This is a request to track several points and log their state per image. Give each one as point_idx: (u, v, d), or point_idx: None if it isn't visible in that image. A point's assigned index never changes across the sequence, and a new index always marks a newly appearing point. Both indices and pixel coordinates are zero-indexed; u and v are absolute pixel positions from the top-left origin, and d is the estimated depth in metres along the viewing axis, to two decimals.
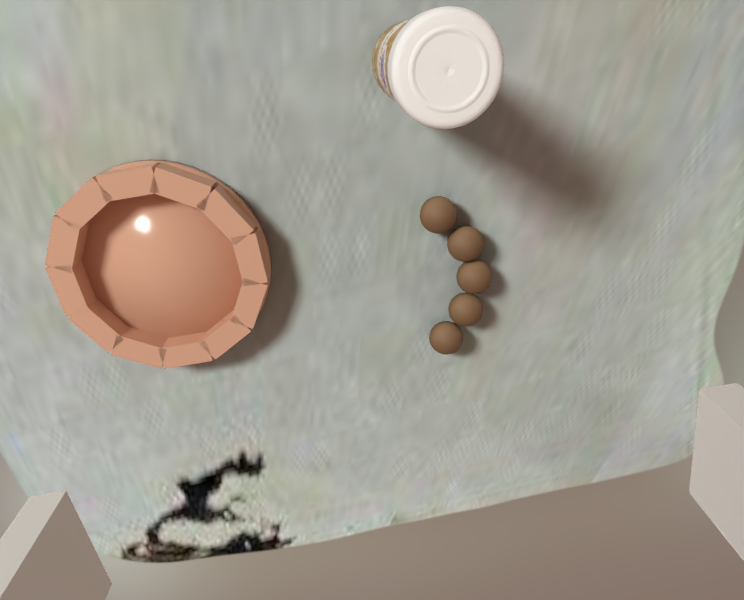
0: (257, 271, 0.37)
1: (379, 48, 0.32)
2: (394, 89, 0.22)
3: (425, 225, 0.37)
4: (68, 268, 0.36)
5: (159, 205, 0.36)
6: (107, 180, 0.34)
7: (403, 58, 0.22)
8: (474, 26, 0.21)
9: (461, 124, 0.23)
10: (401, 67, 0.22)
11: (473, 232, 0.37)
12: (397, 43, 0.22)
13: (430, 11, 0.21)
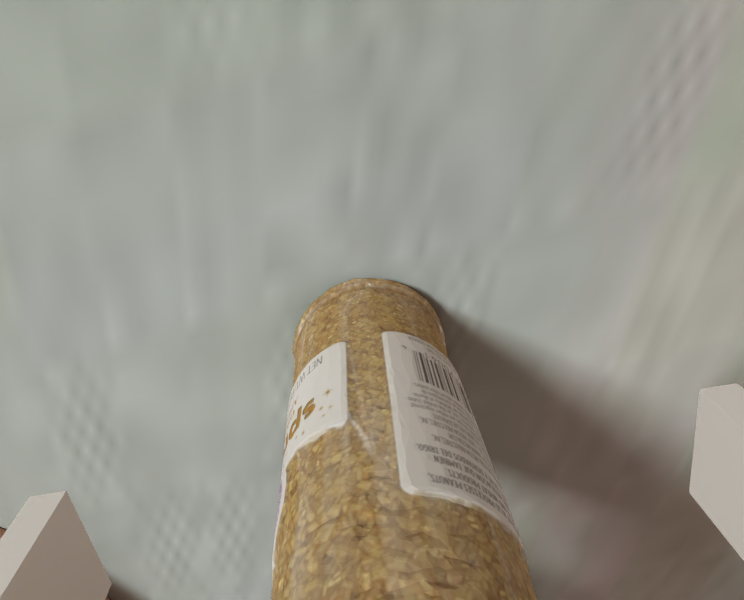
0: None
1: (297, 366, 0.14)
2: None
3: None
4: None
5: None
6: None
7: None
8: None
9: None
10: None
11: None
12: None
13: None
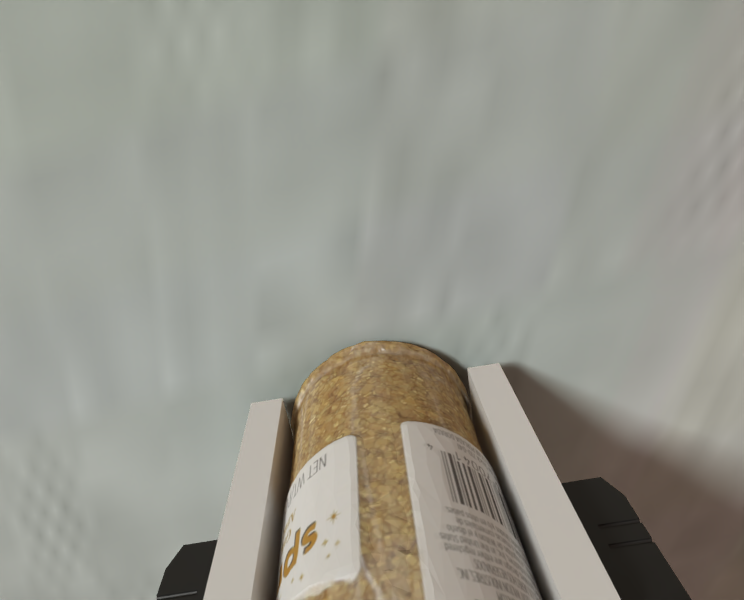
0: None
1: (296, 455, 0.12)
2: None
3: None
4: None
5: None
6: None
7: None
8: None
9: None
10: None
11: None
12: None
13: None
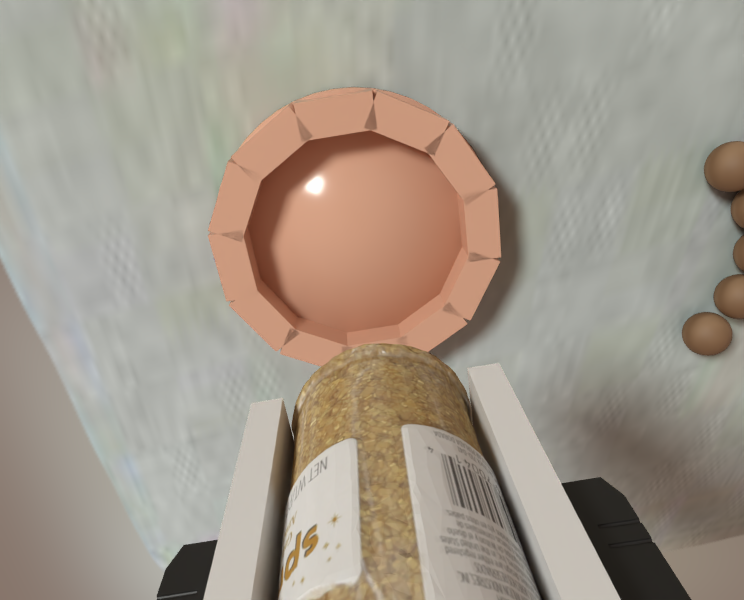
0: (490, 242, 0.27)
1: (296, 458, 0.12)
2: None
3: (719, 180, 0.27)
4: (238, 235, 0.26)
5: (362, 150, 0.26)
6: (308, 110, 0.24)
7: None
8: None
9: None
10: None
11: None
12: None
13: None
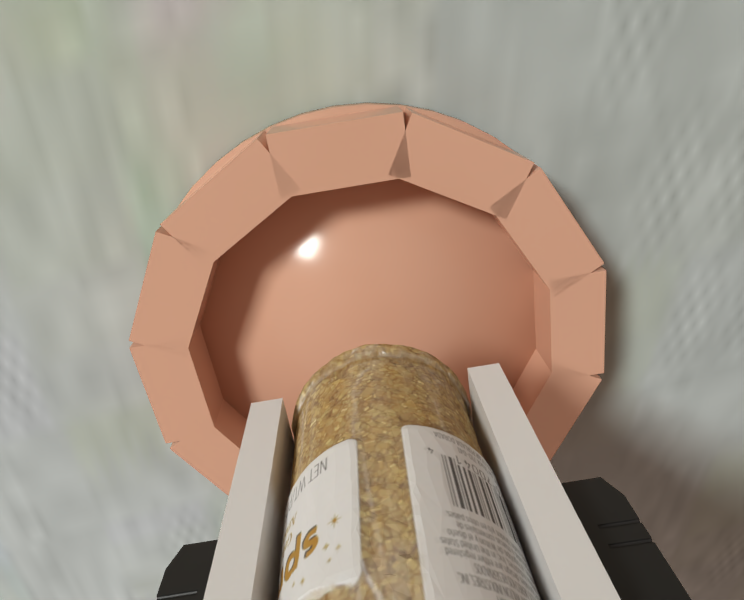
0: (588, 351, 0.17)
1: (296, 458, 0.12)
2: None
3: None
4: (180, 347, 0.16)
5: (382, 206, 0.16)
6: (292, 145, 0.14)
7: None
8: None
9: None
10: None
11: None
12: None
13: None
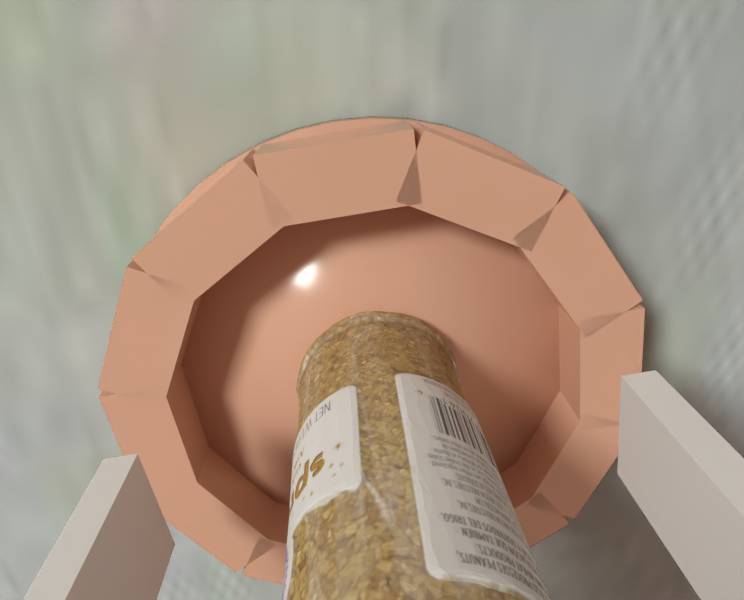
0: None
1: (302, 409, 0.13)
2: None
3: None
4: (157, 396, 0.14)
5: (388, 234, 0.14)
6: (284, 168, 0.12)
7: None
8: None
9: None
10: None
11: None
12: None
13: None
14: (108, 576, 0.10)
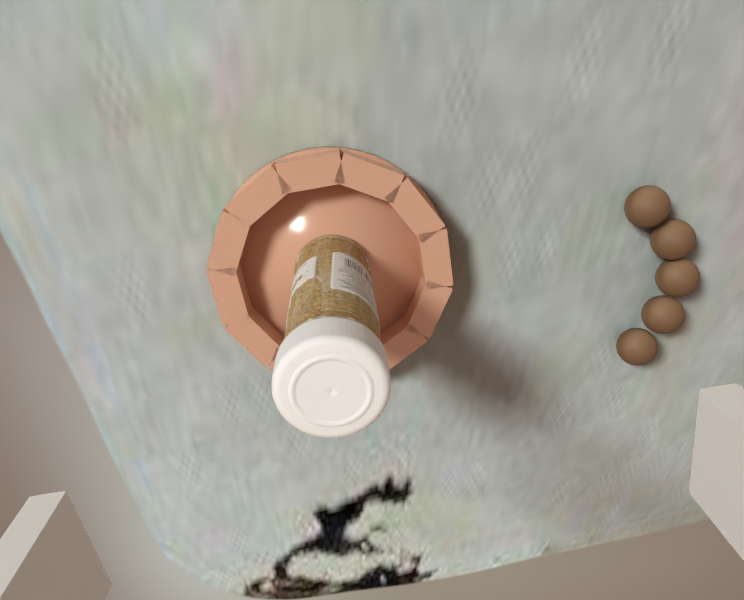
0: (443, 272, 0.32)
1: (296, 272, 0.31)
2: None
3: (634, 218, 0.32)
4: (231, 271, 0.31)
5: (334, 198, 0.32)
6: (288, 169, 0.29)
7: (282, 383, 0.21)
8: (354, 354, 0.20)
9: (350, 434, 0.22)
10: (281, 391, 0.21)
11: (687, 226, 0.32)
12: (276, 367, 0.21)
13: (307, 340, 0.20)
14: None
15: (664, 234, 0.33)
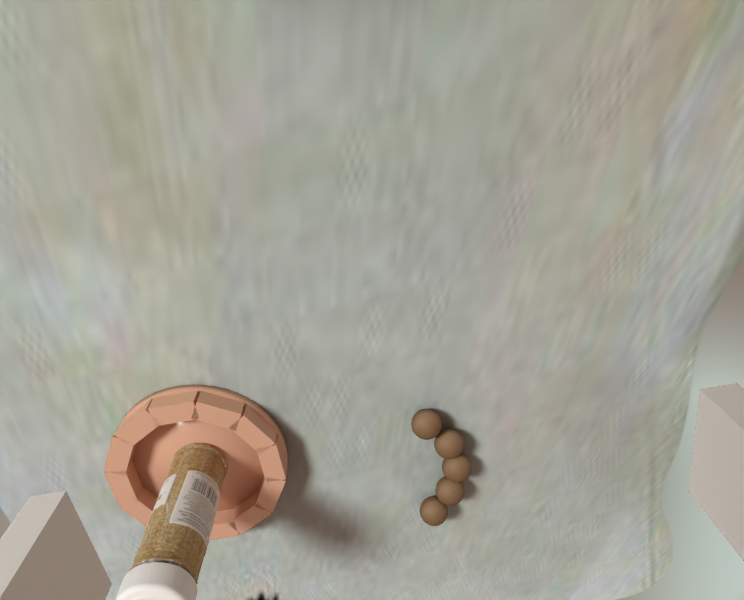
0: (277, 471, 0.45)
1: None
2: None
3: None
4: (122, 472, 0.44)
5: (197, 420, 0.44)
6: (157, 411, 0.42)
7: None
8: (163, 595, 0.33)
9: None
10: None
11: (455, 439, 0.45)
12: None
13: (133, 587, 0.33)
14: None
15: (439, 443, 0.45)
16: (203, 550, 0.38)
